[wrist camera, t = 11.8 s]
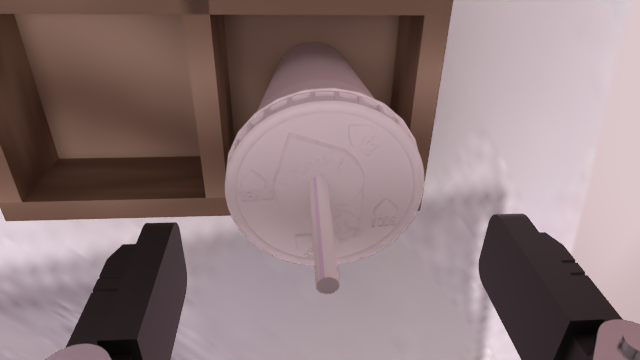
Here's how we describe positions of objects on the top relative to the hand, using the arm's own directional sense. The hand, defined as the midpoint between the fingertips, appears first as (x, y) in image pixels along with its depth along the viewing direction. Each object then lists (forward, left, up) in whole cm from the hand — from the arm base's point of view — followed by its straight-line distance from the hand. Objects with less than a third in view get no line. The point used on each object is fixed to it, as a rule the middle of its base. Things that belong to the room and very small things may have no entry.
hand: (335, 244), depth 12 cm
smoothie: (0, 0, -13) cm, 13 cm away
